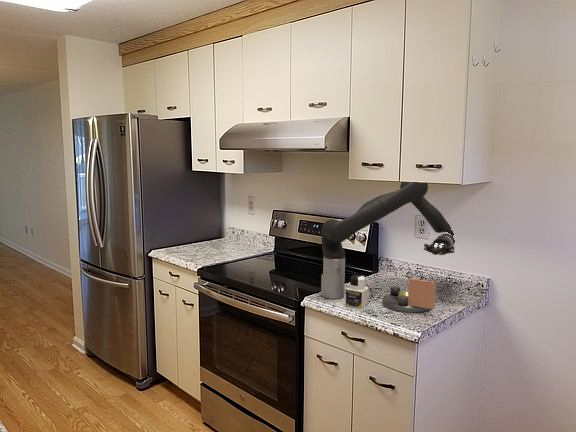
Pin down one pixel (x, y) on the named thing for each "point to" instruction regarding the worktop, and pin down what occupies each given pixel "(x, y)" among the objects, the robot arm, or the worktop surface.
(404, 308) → the levelling base
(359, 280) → the medicine bottle
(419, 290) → the terracotta flat panel
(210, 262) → the worktop surface
